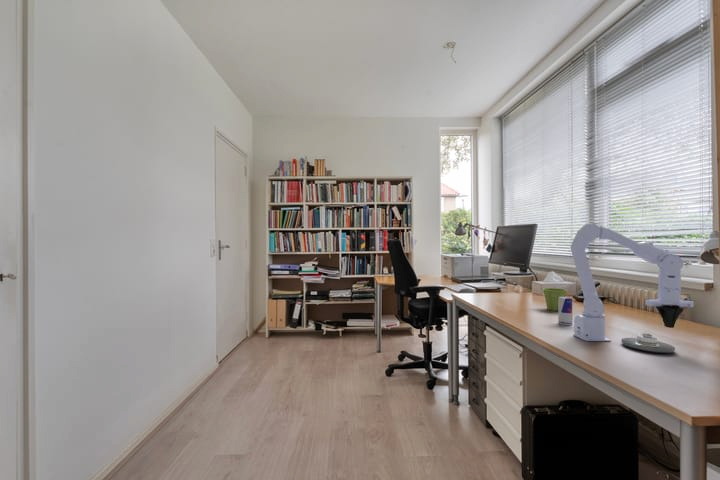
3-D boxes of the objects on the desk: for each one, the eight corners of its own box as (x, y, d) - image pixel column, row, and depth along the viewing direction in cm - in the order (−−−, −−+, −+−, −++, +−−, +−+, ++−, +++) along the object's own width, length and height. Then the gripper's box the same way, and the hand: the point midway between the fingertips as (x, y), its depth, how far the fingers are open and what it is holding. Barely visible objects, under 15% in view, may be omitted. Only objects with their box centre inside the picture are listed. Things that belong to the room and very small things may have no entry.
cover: (645, 345, 111) (645, 336, 111) (633, 341, 116) (633, 332, 116) (661, 346, 111) (661, 336, 111) (648, 341, 116) (648, 332, 116)
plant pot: (567, 309, 179) (567, 288, 179) (567, 313, 169) (567, 291, 169) (542, 306, 185) (542, 287, 185) (541, 310, 175) (541, 289, 175)
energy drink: (572, 326, 143) (572, 298, 143) (558, 324, 146) (558, 297, 146) (572, 323, 148) (572, 297, 148) (558, 321, 150) (558, 296, 150)
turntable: (642, 354, 107) (642, 350, 107) (611, 341, 121) (611, 337, 121) (687, 355, 106) (687, 350, 106) (650, 342, 120) (650, 338, 120)
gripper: (657, 289, 109) (657, 329, 109) (702, 290, 109) (702, 330, 109) (640, 286, 116) (640, 324, 116) (682, 287, 116) (682, 325, 116)
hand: (669, 327), depth 113 cm, fingers closed
